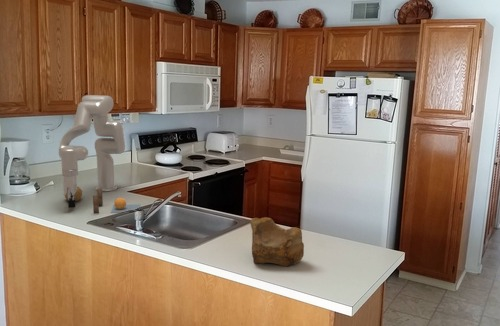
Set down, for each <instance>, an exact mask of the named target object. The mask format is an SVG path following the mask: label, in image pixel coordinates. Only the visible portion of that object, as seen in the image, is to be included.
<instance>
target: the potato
mask: <svg viewBox="0 0 500 326" xmlns="http://www.w3.org/2000/svg"><path fill="white" fill-rule="evenodd" d="M82 196H83V190H82V189H81V188H80V187H79V186H77V192H76V193H75V202H77V201H79V200H81V197H82ZM64 198H65V199H66V200H68V194H66V195H65V196H64Z"/></svg>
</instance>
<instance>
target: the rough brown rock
mask: <svg viewBox="0 0 500 326" xmlns="http://www.w3.org/2000/svg"><path fill="white" fill-rule="evenodd" d="M249 223H250V227H251V232H252V233H251V235H252V237H251V239H252V240H251V242H252V244H251V256H252V262H253V263H254V264H265V263H270V264H276V265H279V266H284V267H290V266H291V265H295V264H297V263H299V262H301V261H302V259H303V258H304V256H305V255H304V254H305V252H304V247H305V245H304V242H303V232H302V229H301V228H299V227H297V226H296V227H295V226H294V227H293V226H292V227H290V228H287V229H285V228H283V227H281V226H279V225H277V224H276V223H275V221H274V220H273V219H272V218H271V217H266V216H265V217H261V218H259V217H253V218H251V219H250V222H249Z"/></svg>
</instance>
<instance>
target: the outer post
mask: <svg viewBox="0 0 500 326" xmlns="http://www.w3.org/2000/svg"><path fill="white" fill-rule="evenodd" d="M92 206H93V207H92V208H93V209H92V210H93V214H95V215H97V214H100V207H99V202H98V195H97V194H94V195H92Z"/></svg>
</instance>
